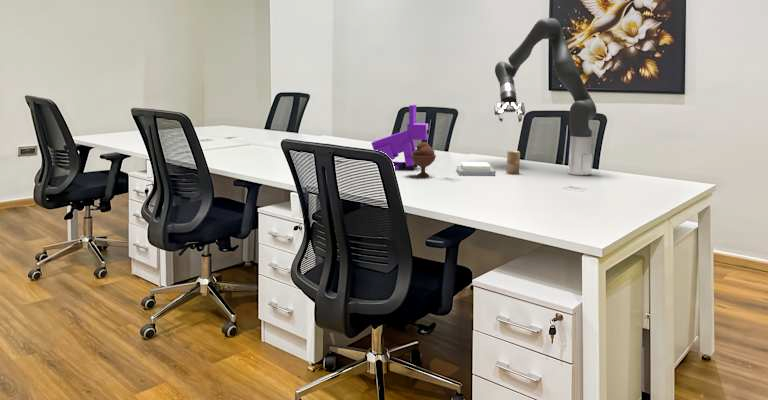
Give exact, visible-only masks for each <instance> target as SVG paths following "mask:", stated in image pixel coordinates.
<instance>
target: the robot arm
mask: <svg viewBox="0 0 768 400" xmlns="http://www.w3.org/2000/svg"><path fill="white" fill-rule="evenodd" d="M529 31H530V32H528V34H527V35H526V36H525V38H524V40H523V41H522V43H520V45H519V46H518V47H517V48H516V49H515V50H514V51H513V52H512V53H511V54H510V55H509V56H508V62H505V61H498V63H496V65H495V68H494V73H495V76H496V79H497V81H498V84H499V98H500V103H498V102H496V101H495V102H494V115H495V116H498V119H499V122H501V123H502V122H503V118H504V117H503V114H504V113H505V112H506V113H513V114H515V115H517V117H518V123H520V122H521V121H522V119H523V116H525V113H526V107H525V103H524V102H521V103H518V101H517V100H518V99H517V92H516V87H515V80H514V78H515V76H516V74H517V72H518V71H519V69H520V67H521V66H522V65H523V64H524V63H525V62H526V61H527V60H528V58H529V57H530V56H531V55H532V51H533V49H534V47H535V46H536V45H537V44H538V43H539V42H541V41H542V40H548V41H549V43H550V45H551V47H552V50H553V62H552V63H553V69H554V71H555V73H556V76H557V78H558V81H560V83H561V84H562V85H563V87H564V88H565V89H566V90H567V91H568V92H569V94H570V95H571V96H572V99H573V103H572V104H571V106H570V109H569V114H568V115H569V118H568V119H569V120H568V121H569V123H568V126H569V127H568V129H569V131H570V136H569V137H570V139H569V153H568V169H567V170H568V171H567V174H569V175H576V176H587V175H591V174H592V164H593V163H592V162H593V152H592V153H591V151H592V149H591V148H592V136H593V131H592V129H591V128H590V126H589V121H591V120H593V119H594V118H595V117H596V115H597V107H596V104H595V102H594V100H593V98H592V97H591V95H590V94H589V91H588V90H587V88H586V86H585V83H584V81H583V78H582V76H581V74H580V71H579V69H578V67H577V64H576V62H575V60H574V57H573V55H572V53H571V52H570V49H569V47H568V46H569V45H568V43H567V41H566V37H565V35H564V31H563V28H562V26H561V23H560V21H559V20H558V19H556V18H553V17H552V18H551V17H549V18H548V17H547V18H540V19H538V21H537V22H536V23H535V24H534V26H532V28H531V29H530V30H529ZM499 108H500V109H499Z"/></svg>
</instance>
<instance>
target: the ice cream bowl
mask: <svg viewBox="0 0 768 400" xmlns="http://www.w3.org/2000/svg"><path fill="white" fill-rule="evenodd" d="M436 157H437V155H436V154H435V150H434V148H433V147H431V146H430V145H429V143H428V142H425V141H422V142H418V144H417V146H416V150H415V151H413V154H412V155H411V158H412V160H413V162H414V163H415V164H416V165H418V166H417V167H420V171H421V172H419V173H417V175H416V176H417V177H419V178H429V177H430V174H429V173H427V172H426V167H429V166H430V165H432V163H434V161H435V160H436Z"/></svg>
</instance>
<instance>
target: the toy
mask: <svg viewBox="0 0 768 400" xmlns="http://www.w3.org/2000/svg"><path fill="white" fill-rule="evenodd" d="M429 134H430V129H429V123H426V122H425V123H423V122H420V123H419V122H417V104H409V105H408V123H407V126H406V130H402V131H401V132H398V133H397V132H396V133H394V134H391V135H388V136H386V137H382V138H380V139H377V140H374V141H372V142H371V146H372V149H374V150H378V151H382V152H384V153H386V154H387V155H388V156H389V157H390V158H391V159H392V160H391V161H392V162H393V163H394V166H395V170H396V169H397V171H398V170H399V171H403V170H404V167H405V169H406V171H411V170H415V168H416V167H419V166H418V165H416V164H415V163H414V162H413V160H412V158H411V155H412V154H413V151H415V150H416V149H417V146H416V142H415V141H427V140H428V139H429ZM400 153H403V155H404V161H394V159H396V158H397V157H399V156H400Z"/></svg>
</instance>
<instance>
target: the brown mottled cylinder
mask: <svg viewBox="0 0 768 400" xmlns="http://www.w3.org/2000/svg"><path fill="white" fill-rule="evenodd" d="M506 156H507V157H506V173H507V174H508V175H520V167H521V166H520V165H521V164H520V163H521V152H520V151H519V150H507V154H506Z"/></svg>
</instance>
